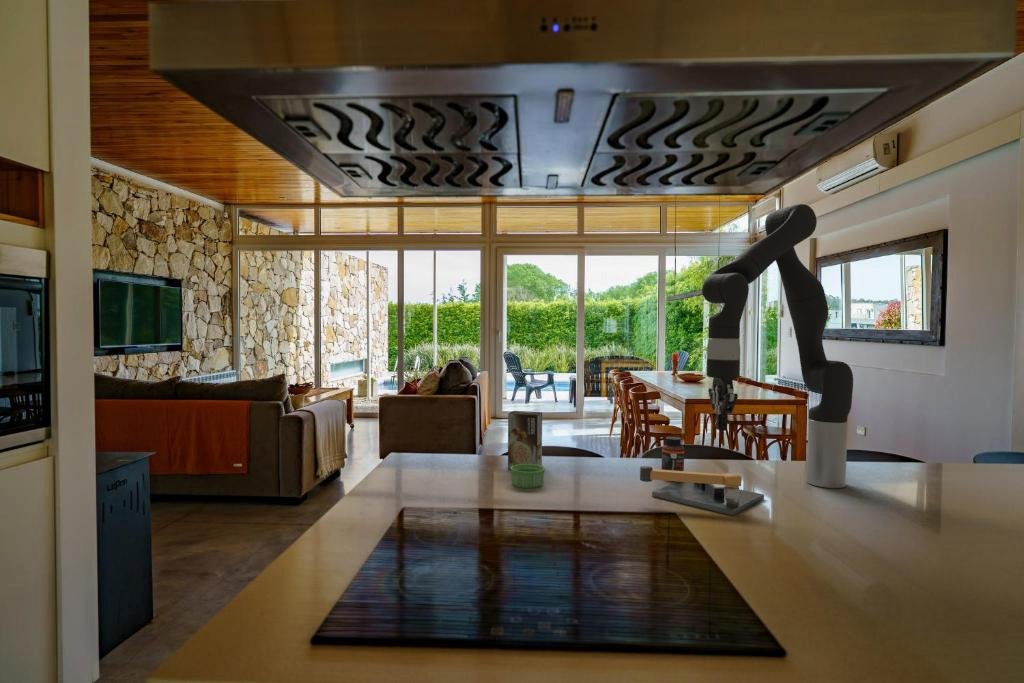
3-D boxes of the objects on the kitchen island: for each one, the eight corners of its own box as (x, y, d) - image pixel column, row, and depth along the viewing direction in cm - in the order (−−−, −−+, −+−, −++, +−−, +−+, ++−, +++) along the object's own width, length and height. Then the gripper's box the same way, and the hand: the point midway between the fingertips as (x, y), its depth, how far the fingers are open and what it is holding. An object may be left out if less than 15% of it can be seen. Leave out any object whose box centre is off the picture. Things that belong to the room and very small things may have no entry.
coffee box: (542, 466, 172) (543, 411, 172) (537, 471, 166) (538, 414, 165) (512, 463, 175) (513, 410, 174) (506, 468, 169) (507, 413, 168)
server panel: (689, 482, 156) (689, 463, 156) (765, 498, 142) (765, 477, 142) (652, 496, 143) (652, 475, 143) (732, 515, 129) (732, 492, 129)
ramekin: (545, 480, 156) (545, 464, 156) (544, 489, 147) (544, 472, 147) (512, 479, 157) (512, 463, 157) (508, 488, 148) (509, 471, 148)
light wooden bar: (739, 485, 134) (740, 472, 134) (742, 489, 131) (742, 476, 130) (640, 477, 140) (640, 465, 140) (639, 481, 136) (640, 469, 136)
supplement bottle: (678, 483, 156) (679, 440, 155) (657, 479, 159) (658, 437, 159) (687, 478, 160) (688, 437, 160) (666, 475, 164) (667, 434, 164)
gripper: (750, 359, 133) (748, 435, 133) (728, 356, 146) (726, 425, 146) (717, 358, 133) (715, 434, 133) (698, 356, 146) (696, 425, 146)
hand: (721, 429), depth 140 cm, fingers closed
